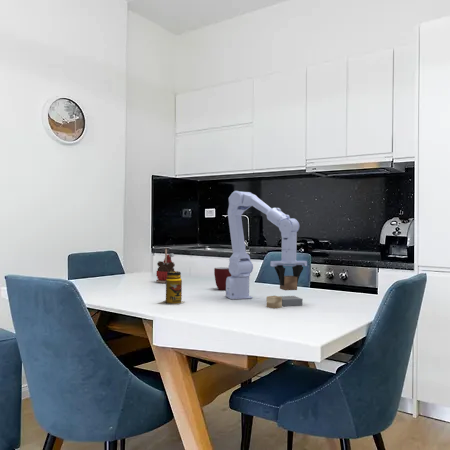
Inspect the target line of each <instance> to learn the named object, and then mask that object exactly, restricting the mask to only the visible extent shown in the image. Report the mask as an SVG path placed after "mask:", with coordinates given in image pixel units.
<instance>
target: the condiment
mask: <svg viewBox="0 0 450 450" xmlns="http://www.w3.org/2000/svg"><path fill="white" fill-rule="evenodd" d="M181 275H182V273H181V271H178V270H177V271H176V270H174V271H170V272H167V279H166V283H165V300H163V301H161V302H159V304H161V305H172V306H174V305H175V306H178V305H181V304H183V303H185V301H182V298H183V295H182V293H183V292H182V290H183V289H182V288H183V287H182V285H183V281H182V276H181Z"/></svg>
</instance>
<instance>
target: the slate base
mask: <svg viewBox="0 0 450 450" xmlns="http://www.w3.org/2000/svg"><path fill="white" fill-rule="evenodd" d="M278 296H279V295H278ZM279 297H282V307H295V306H296V307H299V306H303V298H301V297H298V296H295V295H280V296H279Z"/></svg>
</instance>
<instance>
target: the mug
mask: <svg viewBox="0 0 450 450" xmlns="http://www.w3.org/2000/svg"><path fill="white" fill-rule="evenodd" d="M213 270H214V281H215V285H216V287H217V289H218V291H226V279H227V277H231V274H230V272H229V267H222V266H221V267H214V269H213Z"/></svg>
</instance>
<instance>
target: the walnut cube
mask: <svg viewBox="0 0 450 450" xmlns="http://www.w3.org/2000/svg"><path fill="white" fill-rule="evenodd" d="M279 290H282V291H297V290H298V283H297V277H295V276H293V275H284V285H280V284H279Z"/></svg>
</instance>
